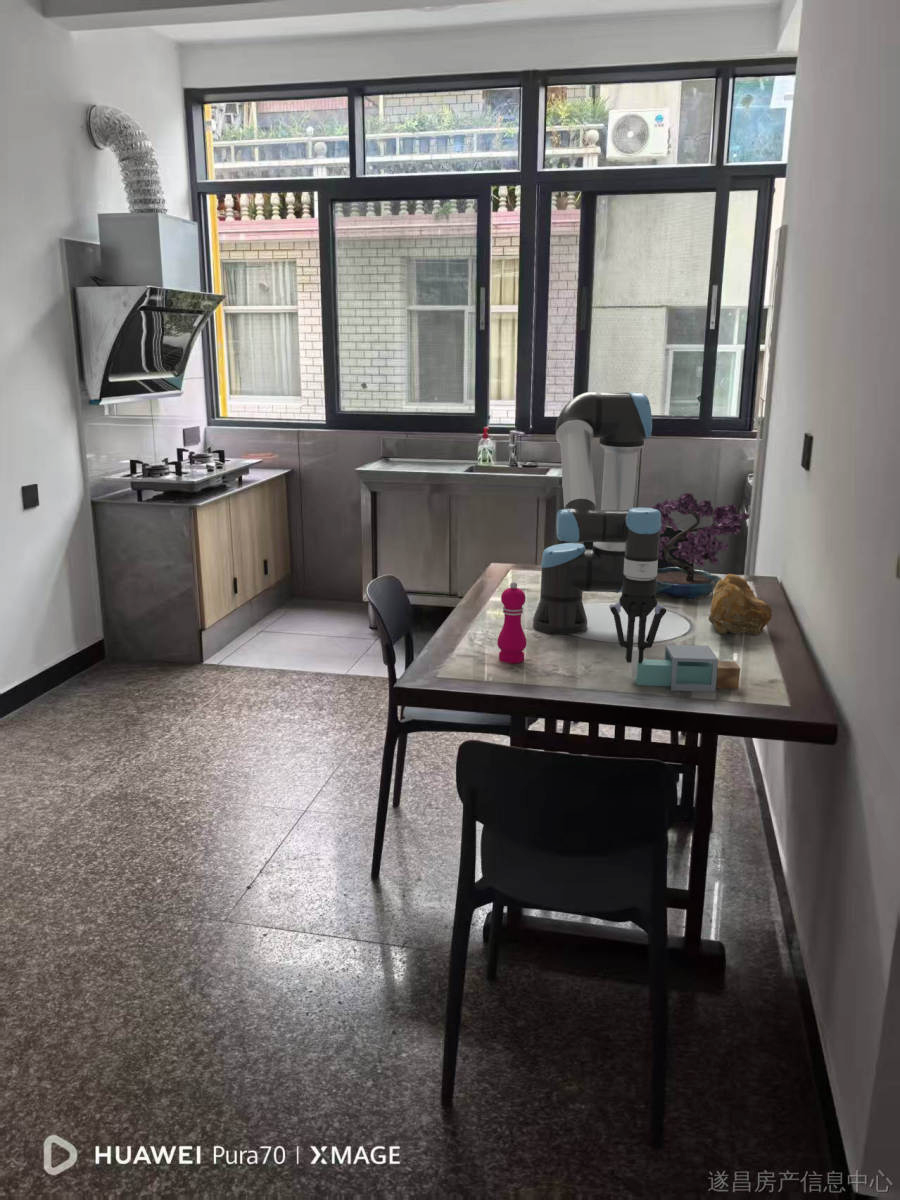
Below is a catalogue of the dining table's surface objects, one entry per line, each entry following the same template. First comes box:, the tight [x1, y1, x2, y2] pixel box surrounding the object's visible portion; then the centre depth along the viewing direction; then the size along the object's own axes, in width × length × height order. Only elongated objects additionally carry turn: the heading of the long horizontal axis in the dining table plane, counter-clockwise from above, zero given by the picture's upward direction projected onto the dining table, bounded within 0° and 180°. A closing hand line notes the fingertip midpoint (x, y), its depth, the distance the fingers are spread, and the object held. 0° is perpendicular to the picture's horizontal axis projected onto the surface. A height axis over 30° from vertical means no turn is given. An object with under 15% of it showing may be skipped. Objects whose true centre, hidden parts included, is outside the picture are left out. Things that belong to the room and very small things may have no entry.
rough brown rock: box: [708, 573, 773, 636], centre depth 254 cm, size 23×16×15 cm
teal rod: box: [634, 658, 718, 687], centre depth 212 cm, size 18×4×5 cm, turn 87°
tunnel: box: [663, 644, 719, 693], centre depth 212 cm, size 10×10×8 cm
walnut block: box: [716, 660, 741, 690], centre depth 212 cm, size 5×5×5 cm
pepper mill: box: [496, 581, 527, 664], centre depth 226 cm, size 7×7×20 cm
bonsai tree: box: [651, 492, 751, 600], centre depth 293 cm, size 35×27×33 cm
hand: (633, 675), depth 213 cm, fingers closed
